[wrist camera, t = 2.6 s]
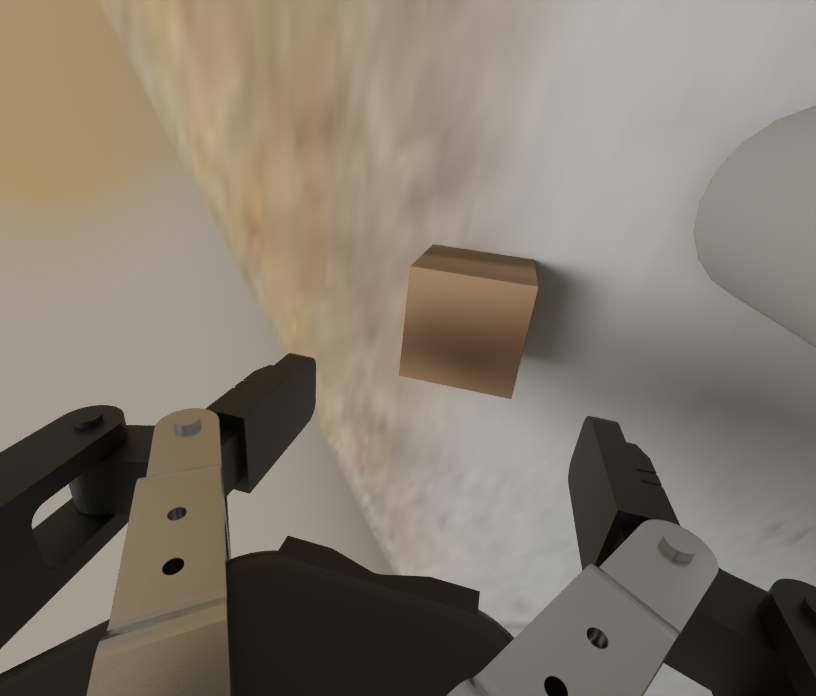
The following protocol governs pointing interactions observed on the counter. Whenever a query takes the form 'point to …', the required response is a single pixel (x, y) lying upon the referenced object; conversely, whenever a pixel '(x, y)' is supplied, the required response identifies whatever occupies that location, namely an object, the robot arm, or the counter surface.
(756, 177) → the can
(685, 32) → the counter surface
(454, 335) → the block
